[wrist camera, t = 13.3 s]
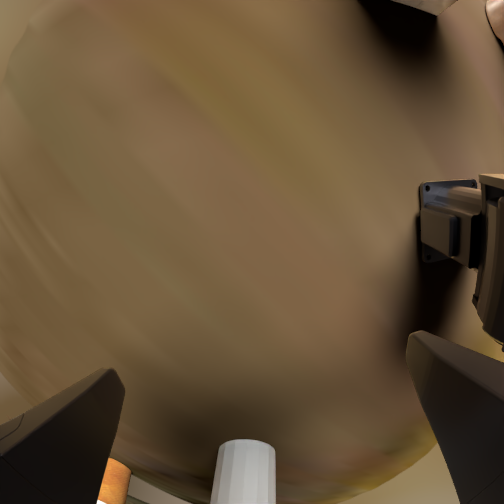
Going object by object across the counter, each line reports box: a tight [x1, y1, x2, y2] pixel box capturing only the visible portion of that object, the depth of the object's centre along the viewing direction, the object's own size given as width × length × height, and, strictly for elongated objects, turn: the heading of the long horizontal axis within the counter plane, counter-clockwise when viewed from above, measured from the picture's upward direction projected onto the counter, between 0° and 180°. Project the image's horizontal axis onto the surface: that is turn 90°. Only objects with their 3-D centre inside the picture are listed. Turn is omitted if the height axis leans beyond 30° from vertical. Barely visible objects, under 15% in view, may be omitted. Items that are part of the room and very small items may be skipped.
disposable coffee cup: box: [97, 458, 131, 504], centre depth 26 cm, size 10×10×12 cm
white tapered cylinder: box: [210, 439, 276, 504], centre depth 21 cm, size 7×7×12 cm
